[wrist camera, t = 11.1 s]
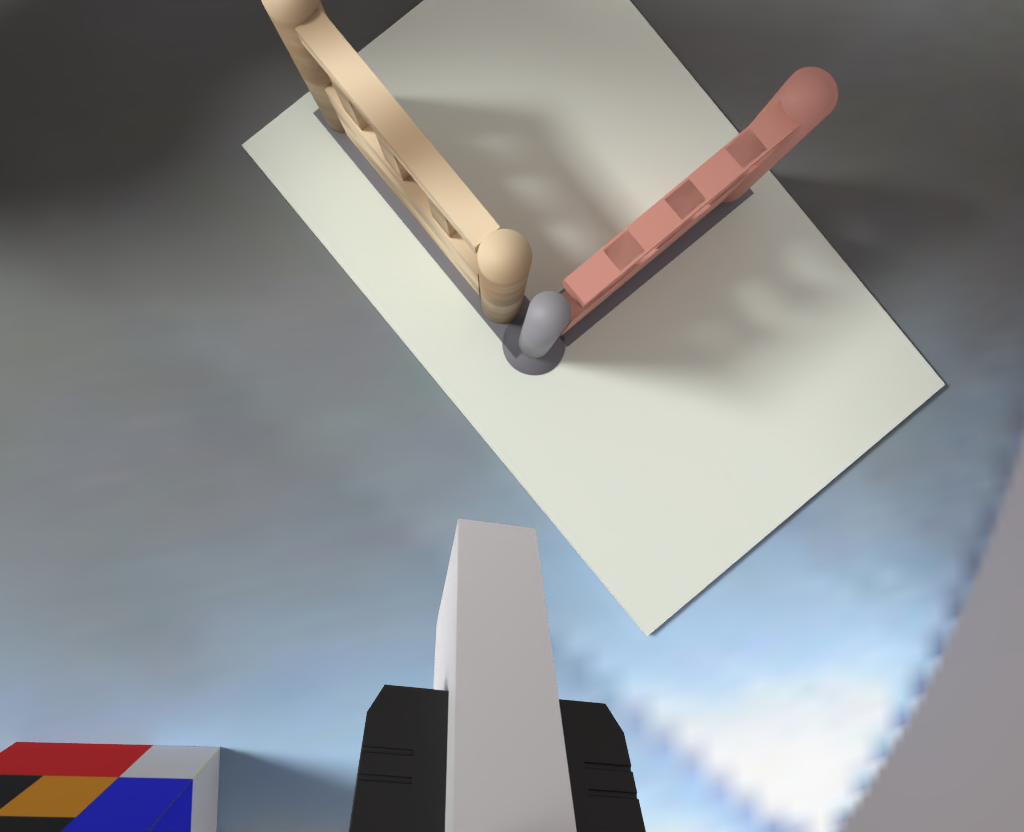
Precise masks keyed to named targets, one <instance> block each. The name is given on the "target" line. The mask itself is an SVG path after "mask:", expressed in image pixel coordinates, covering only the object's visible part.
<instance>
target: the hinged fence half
mask: <svg viewBox="0 0 1024 832" xmlns="http://www.w3.org/2000/svg"><path fill="white" fill-rule="evenodd" d="M837 101H838V87H837V84H836V82H835V80H834V78H833V77H832V76H831V75H830V74H829V73H828V72H827V71H825V70H823V69H821V68H818V67H811V66H810V67H804V68H801V69H799V70H797V71H796V72H794V73H793V74H792V75H791V76H790V78H789V79H788V80H787V81H786V82H785V83H784V85H783V86H782V87H781V88H780V89H779V91H778V92H777V93H776V94H775V95H774V96H773V98H772V99H771V100H770V101H769V102H768V104H767V105H766V106H765V107H764V108H763V109H762V111H761V112H760V113H759V114H758V115H757V116H756V118H755V119H754V120H753V121H752V122H751V124H750V125H749V126H748V127H747V128H746V129H744V130H743V131H742V132H741V133H740V134H738V135H737V136H736V137H735V138H733V139H732V140H731V141H730V142H729V143H727V144H726V145H725V146H724V147H723V148H721V149H720V150H719V151H718V152H717V153H715V154H714V155H713V156H712V157H711V158H709V159H708V160H707V161H706V162H705V163H703V164H702V165H701V166H700V167H699V168H697V169H696V170H695V171H694V172H693V173H691V174H690V175H689V176H688V177H687V178H685V179H684V180H683V181H682V182H681V183H679V184H678V185H677V186H676V187H675V188H673V189H672V190H671V191H670V192H669V193H667V194H666V195H665V196H664V197H662V198H661V199H660V200H659V201H658V202H656V203H655V204H654V205H653V206H652V207H650V208H649V209H648V210H647V211H646V212H644V213H643V214H642V215H641V216H640V217H638V218H637V219H636V220H635V221H634V222H632V223H631V224H630V225H629V226H628V227H626V228H625V229H624V230H623V231H622V232H620V233H619V234H618V235H617V236H616V237H614V238H613V239H612V240H611V241H610V242H608V243H607V244H606V245H605V246H604V247H602V248H601V249H600V250H599V251H598V252H596V253H595V254H594V255H593V256H591V257H590V258H589V259H588V260H587V261H585V262H584V263H583V264H582V265H581V266H579V267H578V268H577V269H576V270H575V271H573V272H572V273H571V274H570V275H569V276H567V277H566V278H565V279H564V280H563V283H562V286H563V287H564V288H565V291H564V292H563V293H562V294H560V293H558V292H555V291H544V292H541V293H539V294H537V295H536V296H535V297H534V298H533V299H532V301H531V302H530V304H529V307H528V311H527V314H526V317H525V321H524V324H523V327H522V330H521V334H520V337H519V348H520V350H521V352H522V353H523V354H524V355H525V356H527V357H529V358H533V359H536V358H540V357H543V356H544V355H545V354H546V353H547V352H548V351H549V349H550V348H551V347H552V345H553V344H554V343H555V341H556V340H557V338H558V337H559V336H562V335H563V334H564V333H565V332H567V331H568V330H569V329H570V328H571V327H573V326H574V325H575V324H576V323H577V322H579V321H580V320H581V319H582V318H583V317H585V316H586V315H587V314H588V313H589V312H591V311H592V310H593V309H594V308H595V307H597V306H598V305H599V304H600V303H601V302H603V301H604V300H605V299H606V298H607V297H609V296H610V295H611V294H612V293H613V292H615V291H616V290H617V289H618V288H619V287H621V286H622V285H623V284H624V283H625V282H627V281H628V280H629V279H630V278H631V277H633V276H634V275H635V274H636V273H637V272H639V271H640V270H641V269H642V268H643V267H645V266H646V265H647V264H648V263H649V262H651V261H652V260H653V259H654V258H655V257H657V256H658V255H659V254H660V253H661V252H663V251H664V250H665V249H666V248H667V247H669V246H670V245H671V244H672V243H673V242H675V241H676V240H677V239H678V238H679V237H681V236H682V235H683V234H684V233H685V232H687V231H688V230H689V229H690V228H691V227H693V226H694V225H695V224H696V223H697V222H699V221H700V220H701V219H702V218H703V217H705V216H706V215H707V214H708V213H709V212H710V211H712V210H713V209H714V208H715V207H716V206H718V205H719V204H720V203H721V202H723V203H730V202H733V201H735V200H737V199H738V198H740V197H741V196H742V195H743V194H744V193H745V192H746V191H747V190H748V189H749V188H750V187H751V186H752V185H754V184H755V183H756V182H757V181H758V180H759V179H760V178H761V177H762V176H763V175H764V174H765V173H766V172H767V171H769V170H770V169H771V168H772V167H773V166H774V165H775V164H776V163H777V162H778V161H779V160H780V159H781V158H783V157H784V156H785V155H786V154H787V153H788V152H789V151H790V150H791V149H792V148H793V147H794V146H795V145H796V144H798V143H799V142H800V141H801V140H802V139H803V138H804V137H805V136H806V135H807V134H808V133H809V132H810V131H811V130H813V129H814V128H815V127H816V126H817V125H818V124H819V123H820V122H821V121H822V120H823V119H824V118H825V117H827V116H828V115H829V114H830V113H831V112H832V111H833V109H834V108H835V106H836V104H837Z"/></svg>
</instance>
